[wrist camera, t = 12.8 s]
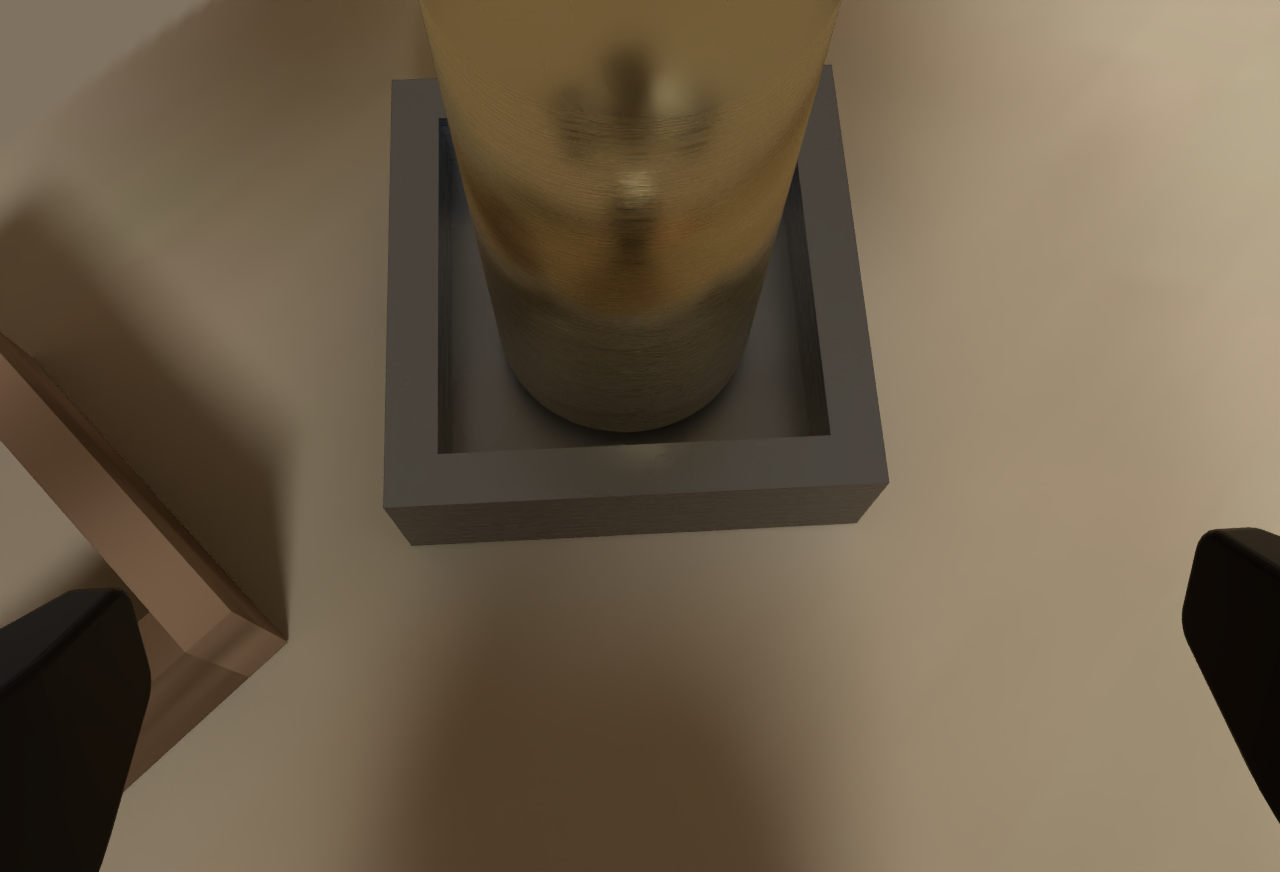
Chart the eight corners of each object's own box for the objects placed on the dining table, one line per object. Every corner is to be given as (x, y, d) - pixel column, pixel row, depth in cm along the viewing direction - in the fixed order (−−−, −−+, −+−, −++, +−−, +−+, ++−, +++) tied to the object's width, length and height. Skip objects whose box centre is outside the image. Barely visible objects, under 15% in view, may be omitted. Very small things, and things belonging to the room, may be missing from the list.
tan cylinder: (801, 317, 24) (942, -64, 14) (620, 484, 23) (624, 201, 12) (627, 160, 25) (635, -299, 15) (446, 310, 24) (316, -80, 14)
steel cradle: (808, 145, 27) (831, 65, 24) (856, 523, 24) (889, 483, 21) (416, 159, 26) (392, 79, 23) (411, 545, 23) (383, 507, 20)
